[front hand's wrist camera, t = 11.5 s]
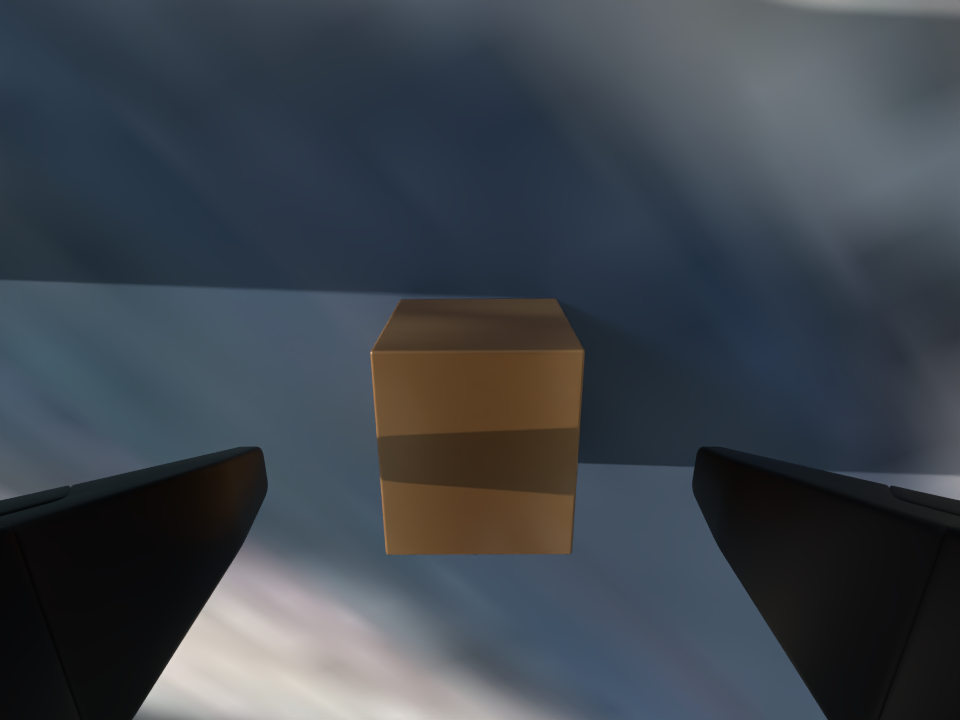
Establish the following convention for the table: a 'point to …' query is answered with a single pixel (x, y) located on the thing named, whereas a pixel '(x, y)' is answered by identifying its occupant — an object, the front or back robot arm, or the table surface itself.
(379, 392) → the brown block
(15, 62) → the table surface
